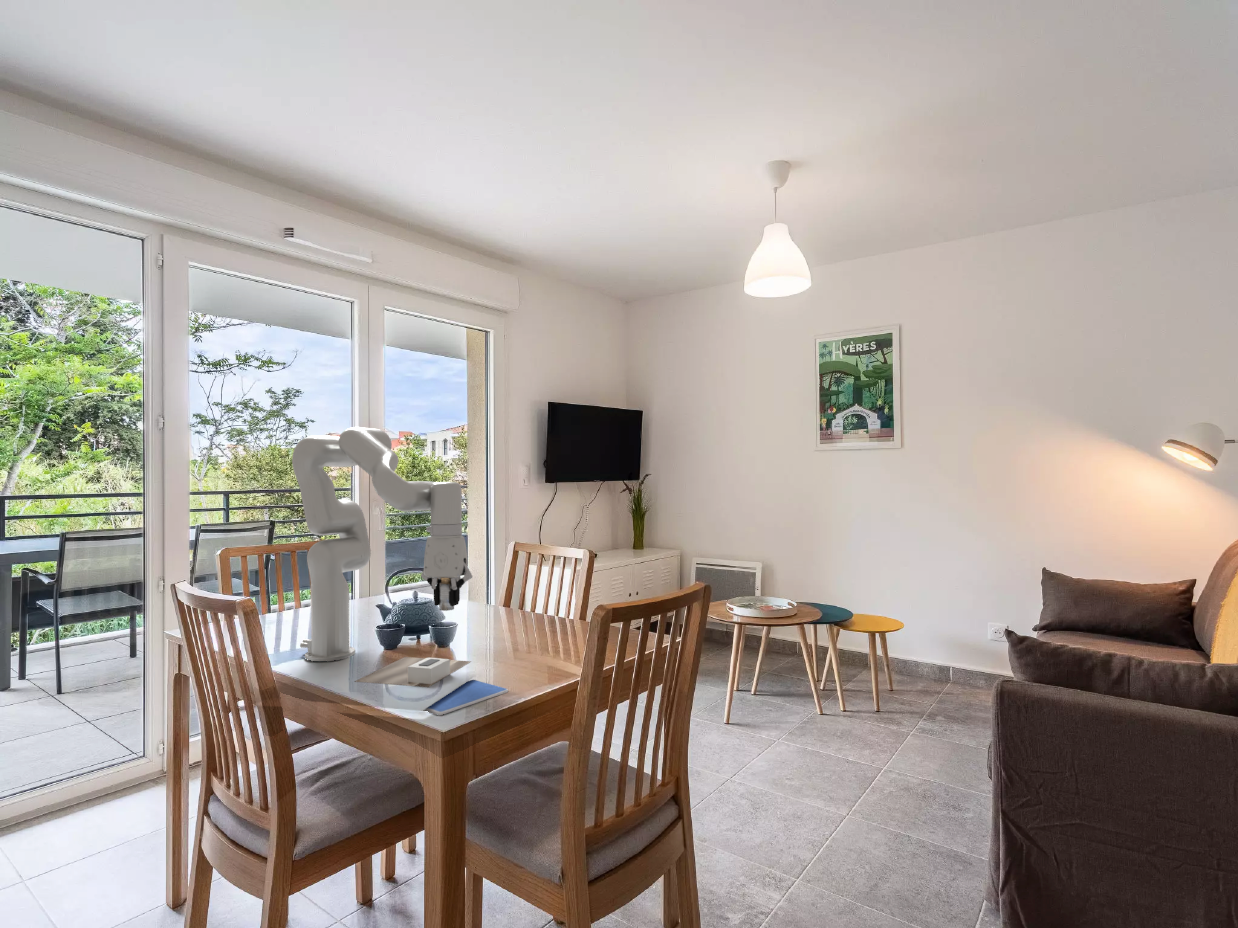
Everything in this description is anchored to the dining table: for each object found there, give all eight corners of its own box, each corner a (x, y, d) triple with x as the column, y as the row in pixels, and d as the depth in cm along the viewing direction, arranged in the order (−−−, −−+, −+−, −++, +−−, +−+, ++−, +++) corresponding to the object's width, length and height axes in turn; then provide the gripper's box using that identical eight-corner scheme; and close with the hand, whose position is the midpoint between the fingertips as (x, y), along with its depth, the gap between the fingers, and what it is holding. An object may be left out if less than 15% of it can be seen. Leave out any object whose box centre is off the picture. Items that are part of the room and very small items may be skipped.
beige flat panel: (354, 687, 152) (354, 681, 152) (404, 662, 173) (404, 656, 173) (428, 693, 148) (428, 686, 148) (471, 667, 168) (471, 661, 168)
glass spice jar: (436, 610, 164) (436, 571, 164) (443, 607, 167) (443, 569, 168) (449, 610, 163) (449, 572, 163) (456, 607, 167) (456, 570, 167)
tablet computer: (473, 683, 157) (473, 677, 157) (510, 693, 149) (510, 687, 149) (403, 706, 141) (403, 700, 141) (440, 719, 134) (440, 712, 134)
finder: (408, 681, 152) (407, 665, 152) (427, 671, 159) (427, 656, 159) (430, 684, 150) (430, 667, 150) (449, 673, 158) (449, 658, 158)
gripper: (408, 532, 164) (408, 606, 164) (469, 532, 160) (470, 609, 160) (424, 529, 171) (424, 600, 171) (483, 530, 167) (483, 603, 167)
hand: (446, 604), depth 165 cm, fingers closed on glass spice jar, 3 cm apart
